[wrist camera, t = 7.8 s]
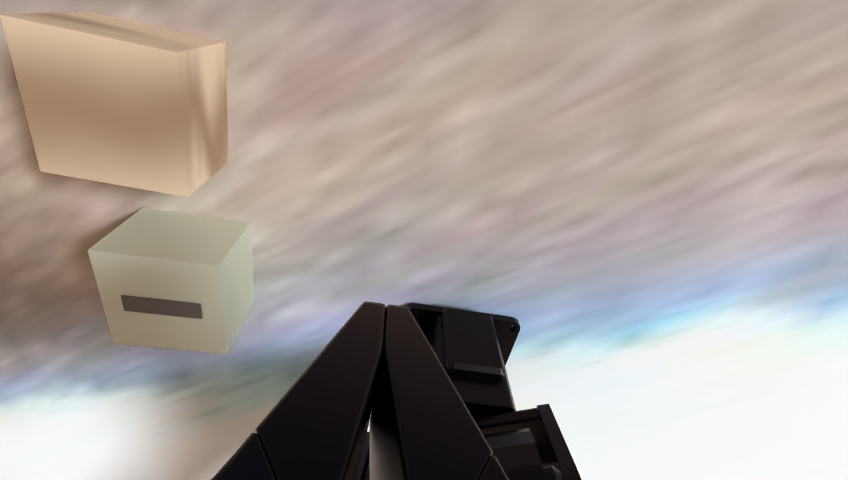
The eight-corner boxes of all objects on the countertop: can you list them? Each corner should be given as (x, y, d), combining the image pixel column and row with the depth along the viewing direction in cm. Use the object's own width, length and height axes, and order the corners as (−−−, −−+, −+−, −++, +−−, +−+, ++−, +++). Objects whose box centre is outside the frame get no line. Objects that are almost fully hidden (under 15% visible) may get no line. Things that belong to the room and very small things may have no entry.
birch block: (229, 160, 19) (187, 196, 15) (111, 138, 18) (40, 171, 15) (226, 41, 16) (176, 52, 13) (90, 11, 16) (0, 14, 12)
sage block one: (255, 300, 23) (226, 355, 19) (159, 289, 22) (111, 344, 19) (251, 220, 20) (217, 267, 17) (143, 206, 20) (85, 251, 16)
